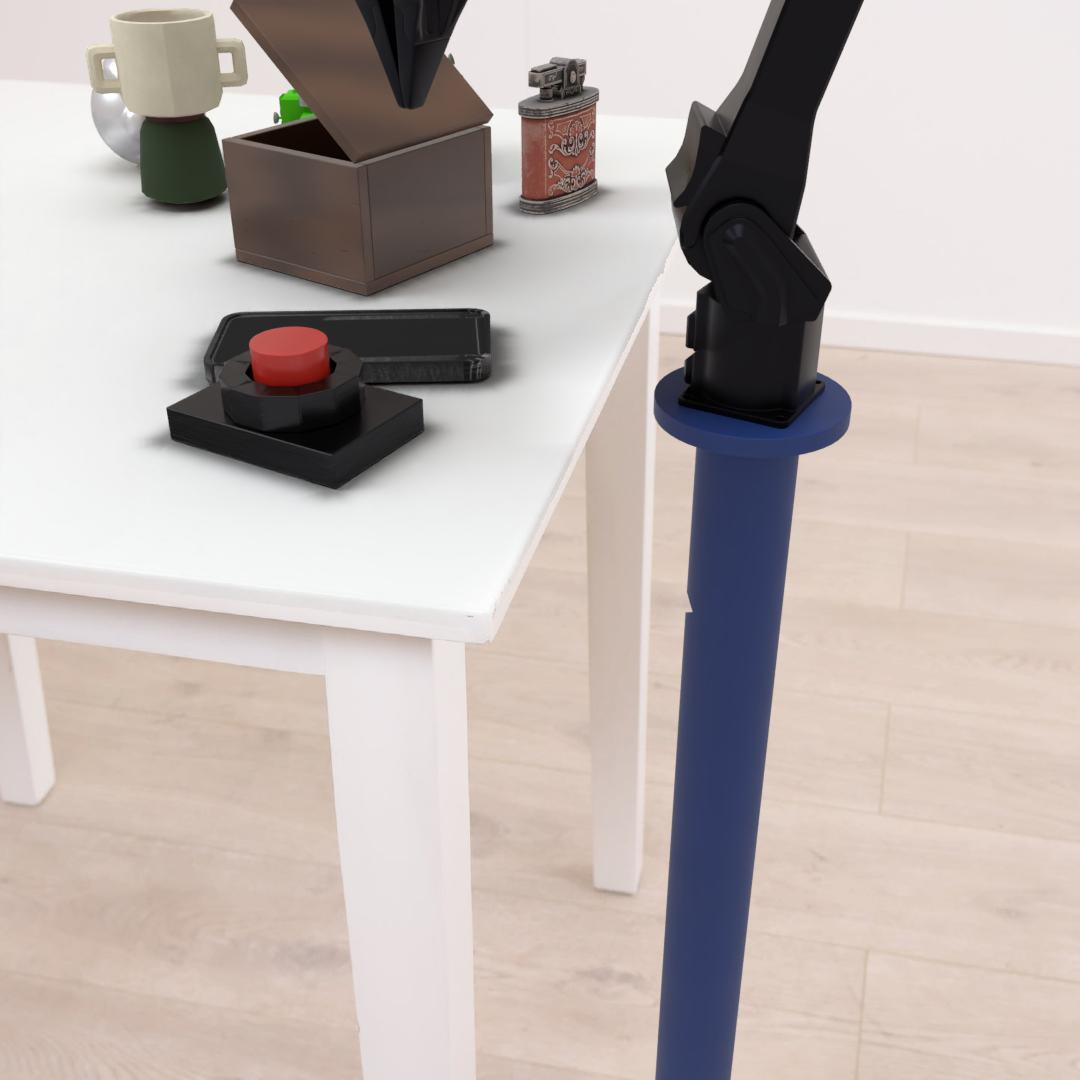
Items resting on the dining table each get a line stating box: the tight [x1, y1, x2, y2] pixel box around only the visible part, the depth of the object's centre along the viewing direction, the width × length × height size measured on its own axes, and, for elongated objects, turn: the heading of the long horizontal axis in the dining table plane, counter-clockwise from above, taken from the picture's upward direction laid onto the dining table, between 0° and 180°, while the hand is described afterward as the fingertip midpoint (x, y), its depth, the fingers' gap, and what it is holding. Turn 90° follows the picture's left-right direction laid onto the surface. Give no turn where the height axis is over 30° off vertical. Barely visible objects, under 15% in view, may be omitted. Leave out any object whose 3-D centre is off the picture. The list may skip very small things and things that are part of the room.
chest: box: [221, 115, 494, 297], centre depth 85 cm, size 12×13×8 cm
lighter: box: [517, 56, 600, 215], centre depth 95 cm, size 8×3×10 cm, turn 145°
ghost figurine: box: [90, 58, 207, 166], centre depth 104 cm, size 9×10×10 cm
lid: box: [229, 0, 494, 164], centre depth 80 cm, size 12×13×1 cm
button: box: [249, 327, 331, 386], centre depth 61 cm, size 4×4×2 cm
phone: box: [203, 307, 492, 385], centre depth 71 cm, size 8×1×15 cm
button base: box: [165, 344, 425, 489], centre depth 62 cm, size 10×7×4 cm
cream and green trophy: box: [85, 7, 249, 205], centre depth 94 cm, size 11×7×13 cm, turn 105°
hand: (411, 107), depth 66 cm, fingers closed
